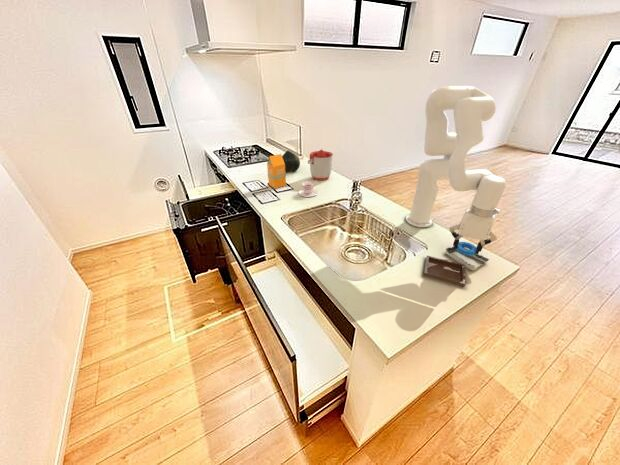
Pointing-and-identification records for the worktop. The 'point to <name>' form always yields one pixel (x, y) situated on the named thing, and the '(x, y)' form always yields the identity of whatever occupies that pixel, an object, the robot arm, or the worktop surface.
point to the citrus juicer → (320, 164)
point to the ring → (465, 251)
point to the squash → (291, 161)
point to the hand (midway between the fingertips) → (465, 249)
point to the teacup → (307, 190)
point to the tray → (445, 271)
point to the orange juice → (276, 171)
